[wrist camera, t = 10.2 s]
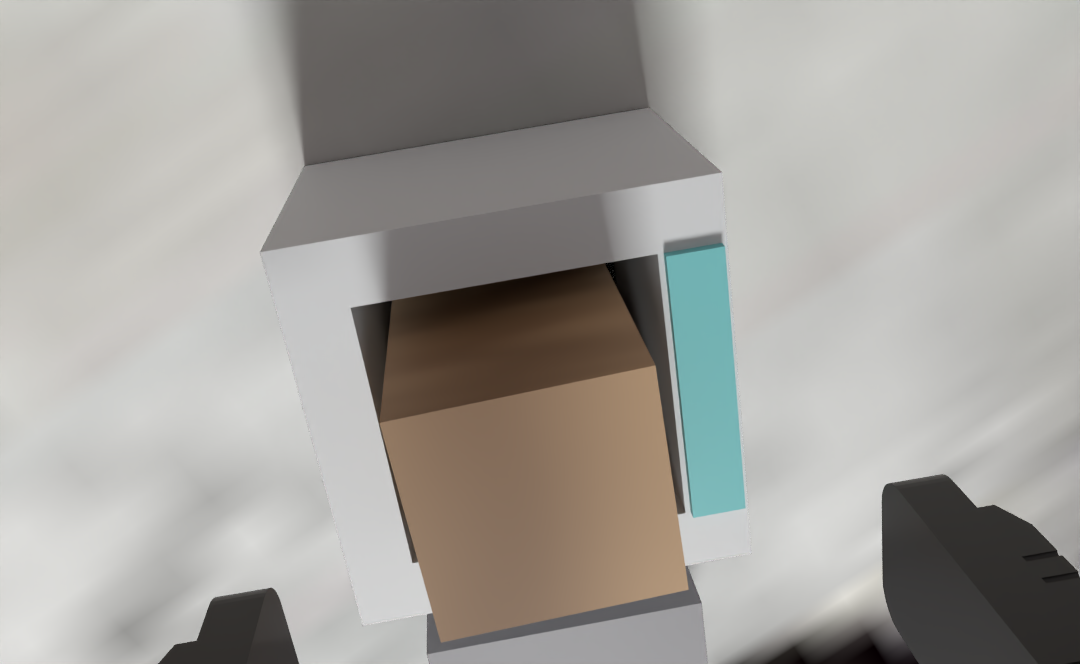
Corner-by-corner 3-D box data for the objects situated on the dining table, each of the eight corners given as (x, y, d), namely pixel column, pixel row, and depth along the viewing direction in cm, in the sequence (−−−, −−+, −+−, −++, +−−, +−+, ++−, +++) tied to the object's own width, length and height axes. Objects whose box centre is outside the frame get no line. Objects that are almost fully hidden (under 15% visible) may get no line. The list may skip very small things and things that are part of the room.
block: (573, 199, 22) (655, 365, 14) (600, 358, 24) (688, 589, 16) (399, 235, 22) (379, 423, 14) (437, 391, 24) (440, 642, 16)
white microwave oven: (649, 107, 22) (725, 175, 16) (681, 412, 25) (754, 559, 19) (304, 165, 22) (258, 256, 16) (378, 466, 25) (362, 633, 19)
